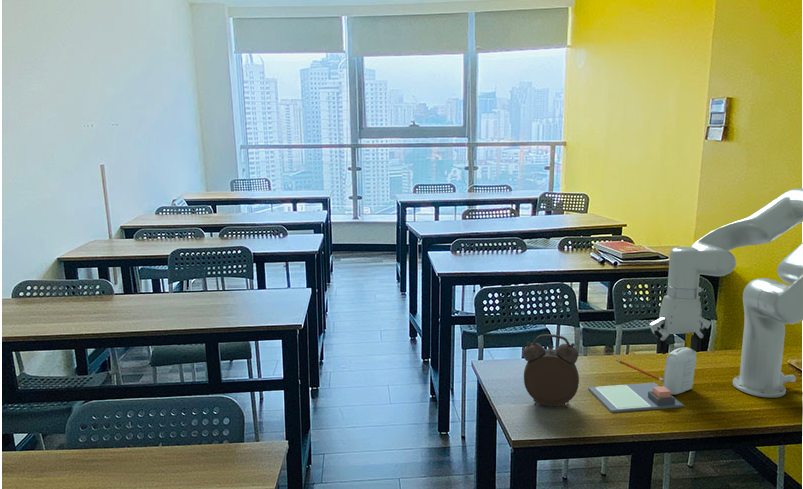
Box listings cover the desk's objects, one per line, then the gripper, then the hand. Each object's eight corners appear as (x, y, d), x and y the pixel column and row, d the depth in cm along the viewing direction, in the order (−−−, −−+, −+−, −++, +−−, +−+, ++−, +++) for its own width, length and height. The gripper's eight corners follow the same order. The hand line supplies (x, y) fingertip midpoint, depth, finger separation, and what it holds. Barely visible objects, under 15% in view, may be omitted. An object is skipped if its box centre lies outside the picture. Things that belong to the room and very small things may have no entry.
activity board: (654, 384, 159) (654, 376, 159) (683, 406, 146) (683, 398, 145) (588, 389, 157) (588, 381, 157) (611, 412, 144) (611, 404, 143)
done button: (663, 393, 150) (664, 386, 149) (670, 399, 146) (670, 391, 146) (652, 394, 149) (652, 387, 149) (658, 399, 146) (659, 392, 146)
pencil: (664, 383, 161) (664, 380, 161) (614, 361, 178) (614, 358, 177) (666, 382, 161) (666, 379, 161) (616, 360, 178) (616, 358, 178)
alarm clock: (577, 400, 151) (579, 331, 147) (578, 413, 144) (580, 340, 140) (523, 395, 155) (524, 328, 151) (521, 407, 148) (522, 337, 144)
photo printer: (679, 383, 159) (685, 343, 157) (694, 389, 156) (700, 347, 154) (659, 390, 154) (665, 349, 152) (674, 396, 150) (680, 354, 148)
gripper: (703, 287, 154) (699, 344, 157) (645, 290, 153) (641, 348, 156) (721, 294, 147) (716, 354, 150) (660, 297, 145) (656, 358, 148)
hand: (678, 351), depth 153 cm, fingers open, 9 cm apart
